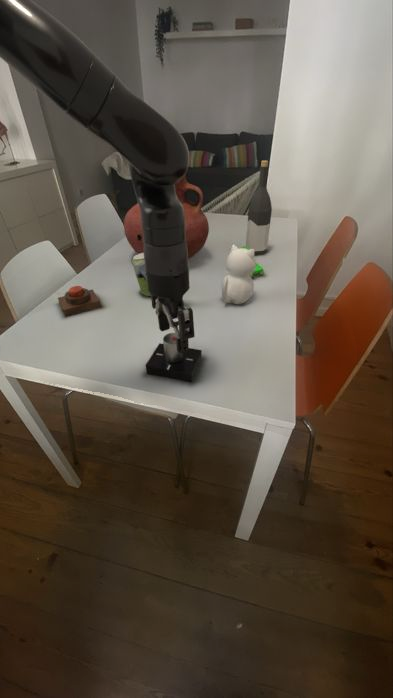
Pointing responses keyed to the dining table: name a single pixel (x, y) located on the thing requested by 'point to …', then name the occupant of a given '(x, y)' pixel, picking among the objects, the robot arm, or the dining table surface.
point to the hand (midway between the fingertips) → (173, 339)
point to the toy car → (258, 268)
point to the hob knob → (171, 349)
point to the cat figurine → (239, 276)
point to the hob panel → (174, 365)
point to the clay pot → (193, 221)
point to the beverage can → (141, 273)
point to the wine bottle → (259, 215)
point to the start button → (76, 291)
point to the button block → (79, 302)
